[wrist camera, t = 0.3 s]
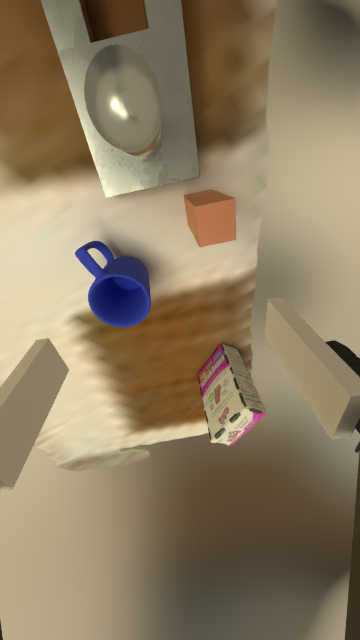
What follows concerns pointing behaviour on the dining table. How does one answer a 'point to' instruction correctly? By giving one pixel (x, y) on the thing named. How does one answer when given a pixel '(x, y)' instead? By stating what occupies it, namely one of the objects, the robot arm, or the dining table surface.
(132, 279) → the mug
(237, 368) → the candy bar box
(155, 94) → the gray socket post base
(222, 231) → the orange rectangular block
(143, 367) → the dining table surface
